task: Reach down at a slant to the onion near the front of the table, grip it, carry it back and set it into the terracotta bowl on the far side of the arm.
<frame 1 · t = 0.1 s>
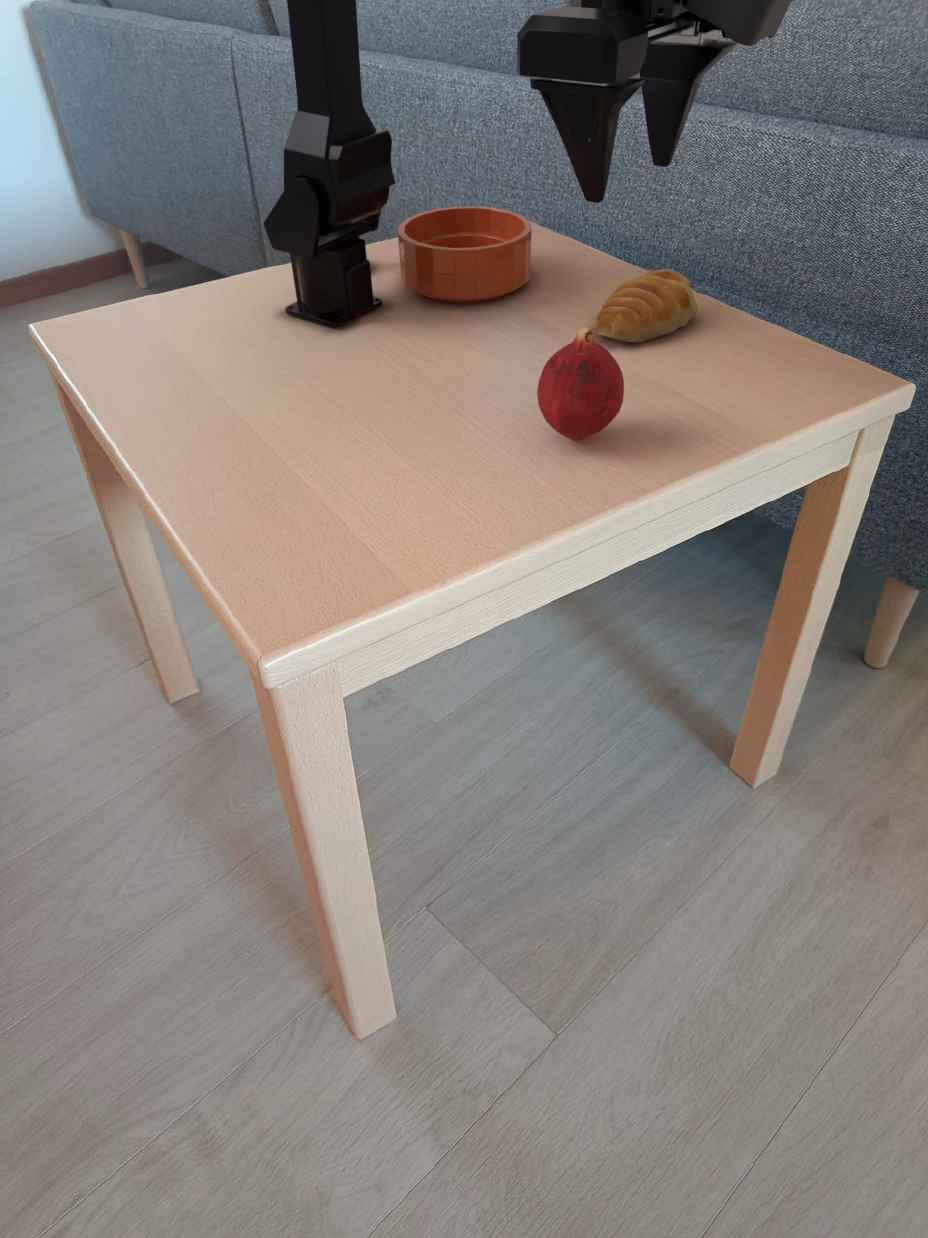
hand: (629, 182, 58), 15 cm above the table, tool pointing down, fingers open, 9 cm apart
pastry: (645, 327, 77), on the table
onion: (577, 442, 62), on the table
bowl: (465, 281, 85), on the table
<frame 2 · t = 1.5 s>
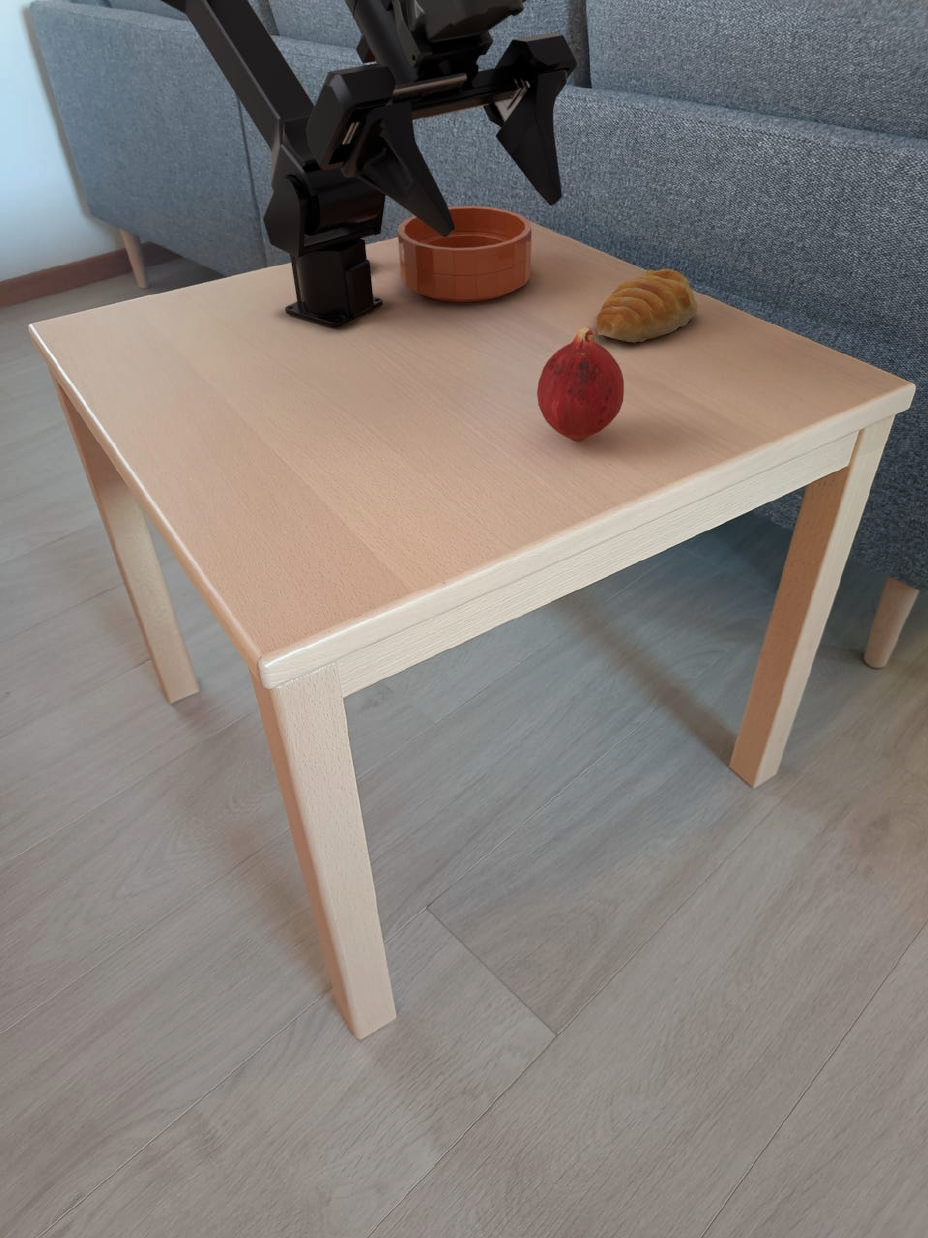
hand: (505, 216, 58), 13 cm above the table, tool tilted 45°, fingers open, 9 cm apart
nothing on the table moved.
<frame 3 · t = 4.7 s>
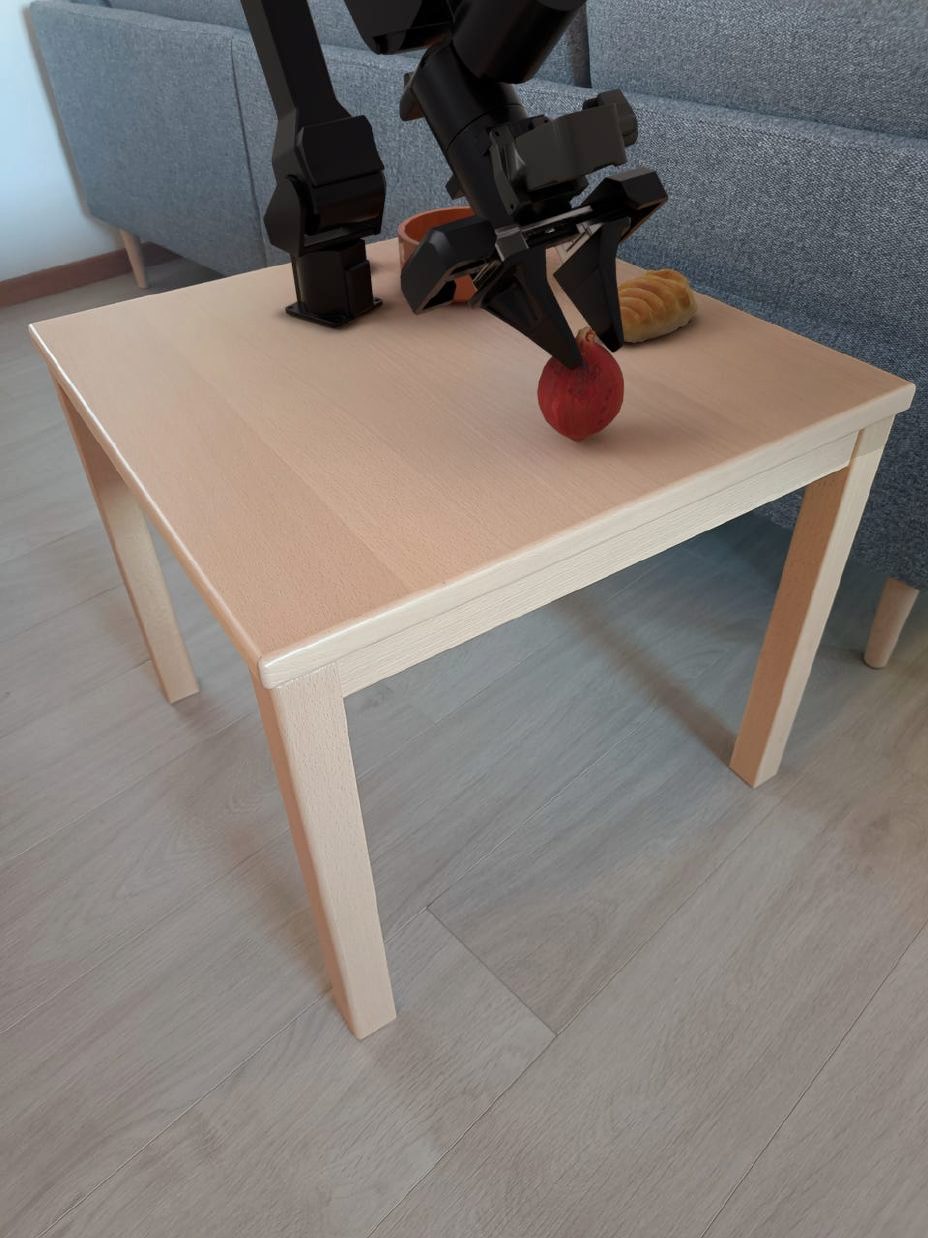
hand: (598, 357, 57), 7 cm above the table, tool tilted 45°, fingers closed on onion, 3 cm apart
onion: (577, 442, 62), on the table, touching gripper
everything else where it was.
when the fingers open (11 cm above the table, at t = 9.5 s): onion drops 1 cm, resting on bowl.
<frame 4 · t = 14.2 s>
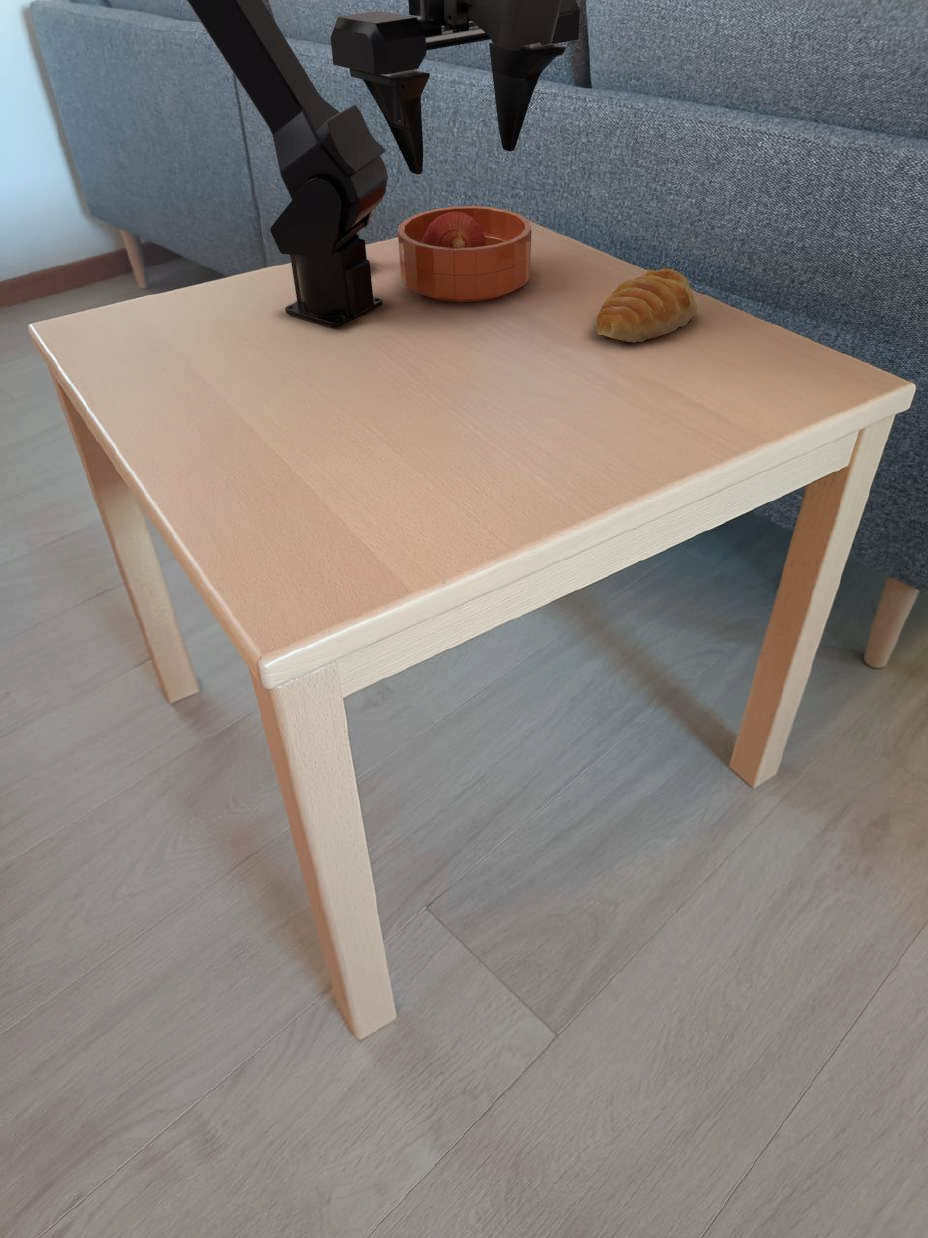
hand: (463, 161, 69), 13 cm above the table, tool pointing down, fingers open, 9 cm apart
onion: (456, 245, 78), point 5 cm above the table, touching bowl
everything else where it was.
at the end: onion inside the target area in the bowl (4.6 cm from its centre), point 4.9 cm above the bowl's base; the gripper is holding nothing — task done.
